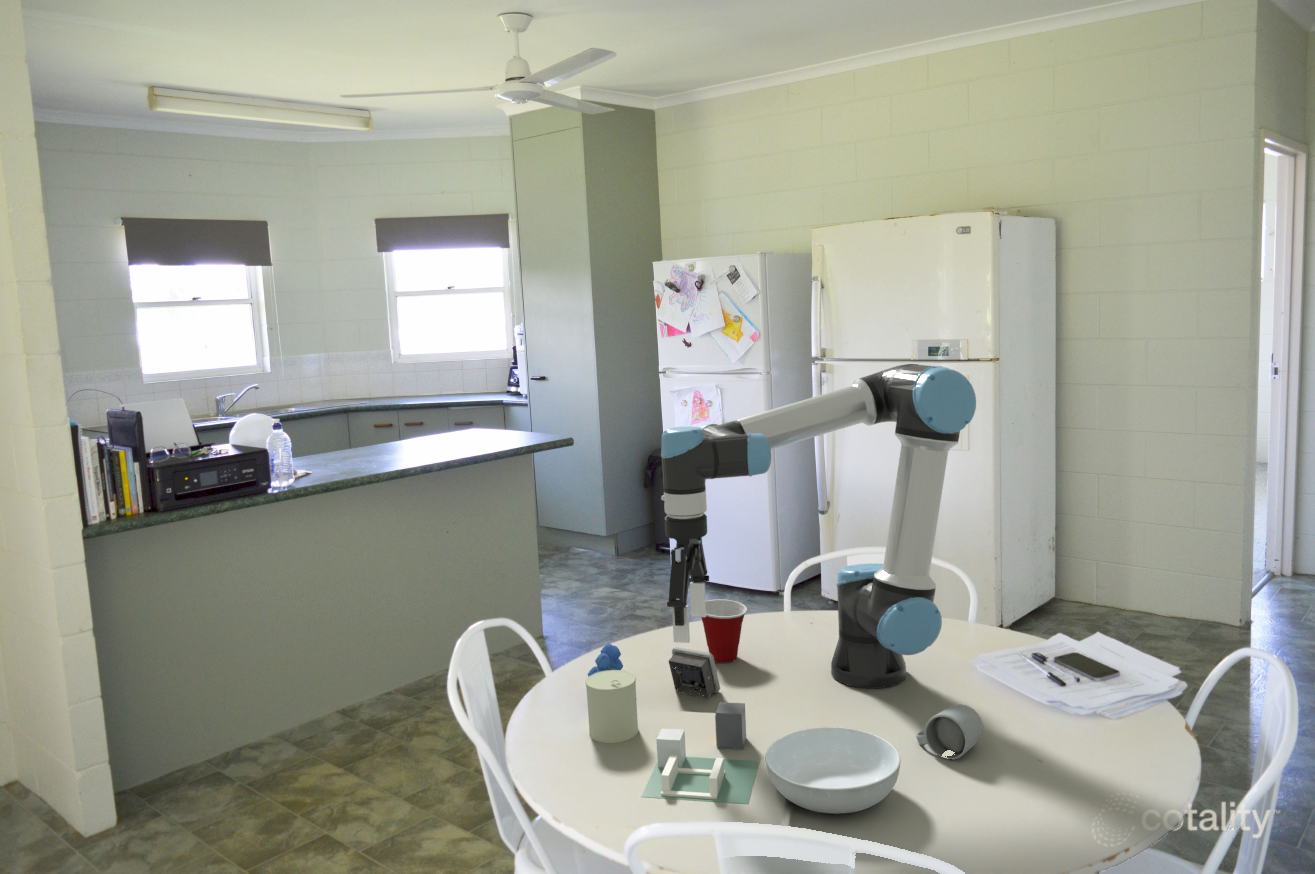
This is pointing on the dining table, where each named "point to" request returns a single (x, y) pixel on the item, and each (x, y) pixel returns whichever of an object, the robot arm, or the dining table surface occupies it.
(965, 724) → the ceramic mug
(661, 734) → the plug
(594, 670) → the grapes
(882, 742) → the serving bowl
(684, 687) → the electrical switch
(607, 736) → the can
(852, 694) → the dining table surface
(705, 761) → the board
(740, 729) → the plug
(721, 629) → the plastic cup
